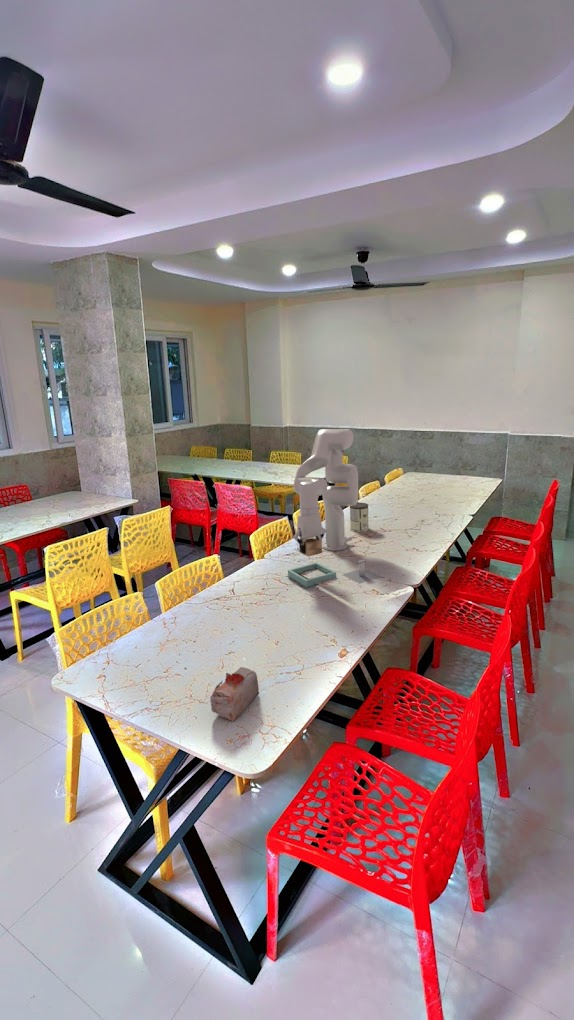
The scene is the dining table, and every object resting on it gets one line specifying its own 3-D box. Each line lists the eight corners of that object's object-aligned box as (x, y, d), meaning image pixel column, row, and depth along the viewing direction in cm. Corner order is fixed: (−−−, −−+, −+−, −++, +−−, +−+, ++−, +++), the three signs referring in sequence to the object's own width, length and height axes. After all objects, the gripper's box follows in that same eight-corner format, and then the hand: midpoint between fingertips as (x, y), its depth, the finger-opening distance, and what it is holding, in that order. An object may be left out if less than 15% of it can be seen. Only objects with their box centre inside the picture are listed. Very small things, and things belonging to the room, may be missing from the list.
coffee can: (354, 525, 291) (354, 501, 288) (371, 527, 286) (371, 503, 282) (346, 530, 283) (346, 506, 279) (363, 532, 278) (363, 508, 274)
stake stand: (363, 571, 225) (363, 553, 223) (381, 579, 215) (381, 561, 213) (342, 577, 219) (341, 559, 217) (359, 586, 209) (359, 568, 207)
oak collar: (313, 548, 221) (312, 536, 220) (322, 553, 215) (321, 540, 214) (299, 552, 218) (298, 539, 216) (308, 556, 212) (307, 544, 210)
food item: (234, 726, 130) (231, 692, 127) (209, 717, 134) (206, 684, 131) (262, 696, 142) (260, 665, 139) (238, 689, 145) (235, 658, 143)
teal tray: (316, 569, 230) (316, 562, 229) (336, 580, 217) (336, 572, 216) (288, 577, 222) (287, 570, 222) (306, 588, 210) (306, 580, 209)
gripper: (321, 505, 219) (322, 544, 224) (286, 512, 211) (288, 553, 215) (331, 509, 213) (332, 549, 217) (296, 516, 204) (297, 557, 209)
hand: (310, 550), depth 216 cm, fingers closed on oak collar, 7 cm apart
